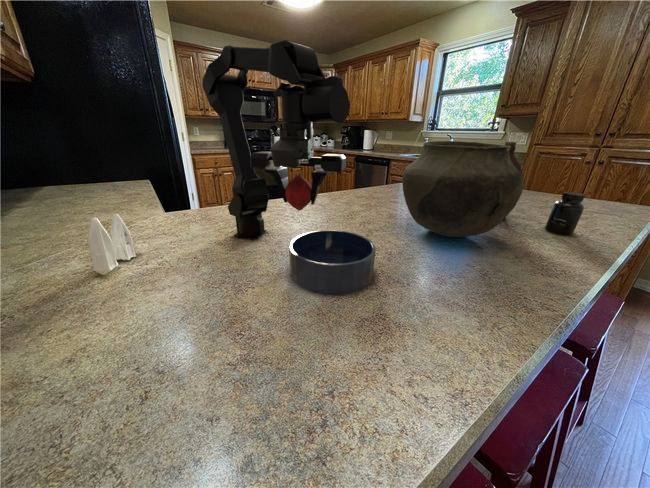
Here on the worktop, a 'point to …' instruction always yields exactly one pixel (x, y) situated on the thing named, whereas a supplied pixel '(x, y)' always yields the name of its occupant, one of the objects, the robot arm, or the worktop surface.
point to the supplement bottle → (565, 214)
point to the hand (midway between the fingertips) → (299, 203)
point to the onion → (298, 192)
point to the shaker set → (109, 244)
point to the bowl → (331, 261)
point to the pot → (461, 187)
